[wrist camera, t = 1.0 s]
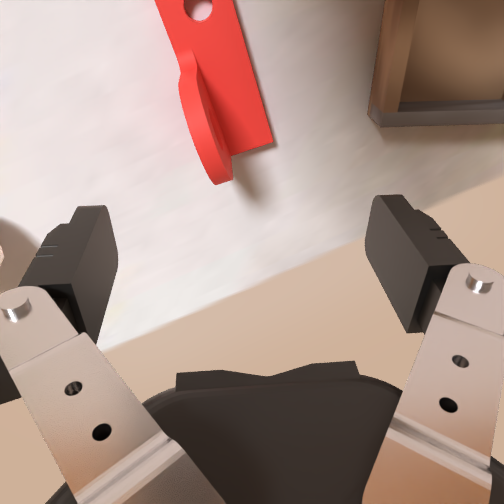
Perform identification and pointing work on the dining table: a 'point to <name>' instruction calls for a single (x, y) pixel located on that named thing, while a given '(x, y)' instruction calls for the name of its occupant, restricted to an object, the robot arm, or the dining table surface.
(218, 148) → the bracket
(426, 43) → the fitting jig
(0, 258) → the geometric ball
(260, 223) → the dining table surface
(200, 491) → the robot arm
